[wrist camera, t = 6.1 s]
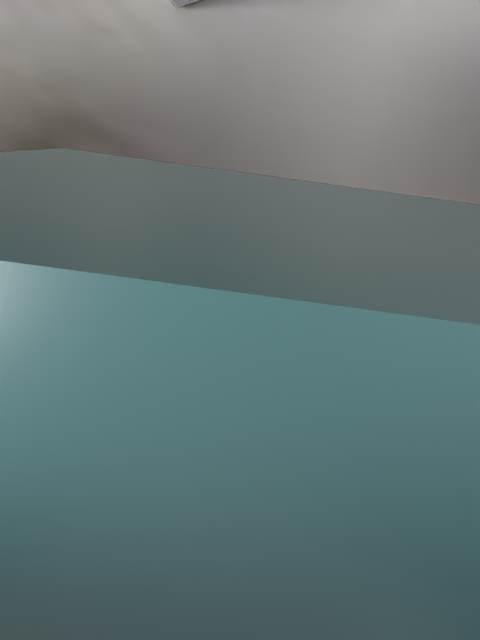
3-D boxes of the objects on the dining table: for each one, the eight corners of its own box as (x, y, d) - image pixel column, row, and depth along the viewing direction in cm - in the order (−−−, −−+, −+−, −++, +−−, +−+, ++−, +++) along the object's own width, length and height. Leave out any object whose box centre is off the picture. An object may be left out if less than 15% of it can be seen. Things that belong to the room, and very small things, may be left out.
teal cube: (381, 522, 15) (528, 996, 7) (69, 482, 15) (-168, 914, 7) (484, 205, 11) (1144, 413, 3) (62, 147, 11) (-539, 189, 3)
